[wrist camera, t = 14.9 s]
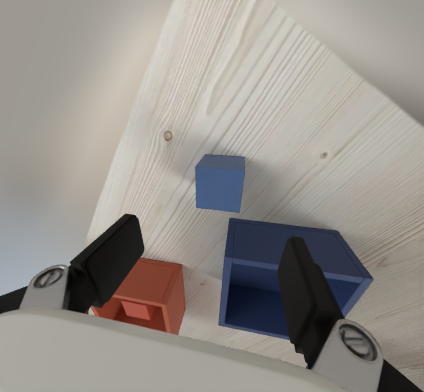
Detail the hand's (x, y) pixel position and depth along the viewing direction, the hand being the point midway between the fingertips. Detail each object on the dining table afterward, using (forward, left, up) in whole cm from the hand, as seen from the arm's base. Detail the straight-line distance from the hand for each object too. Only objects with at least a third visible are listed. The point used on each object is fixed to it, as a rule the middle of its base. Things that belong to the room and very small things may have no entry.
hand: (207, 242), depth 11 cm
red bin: (-13, -24, -11) cm, 29 cm away
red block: (-13, -24, -10) cm, 29 cm away
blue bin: (+8, -13, -11) cm, 19 cm away
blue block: (0, 0, -11) cm, 11 cm away
